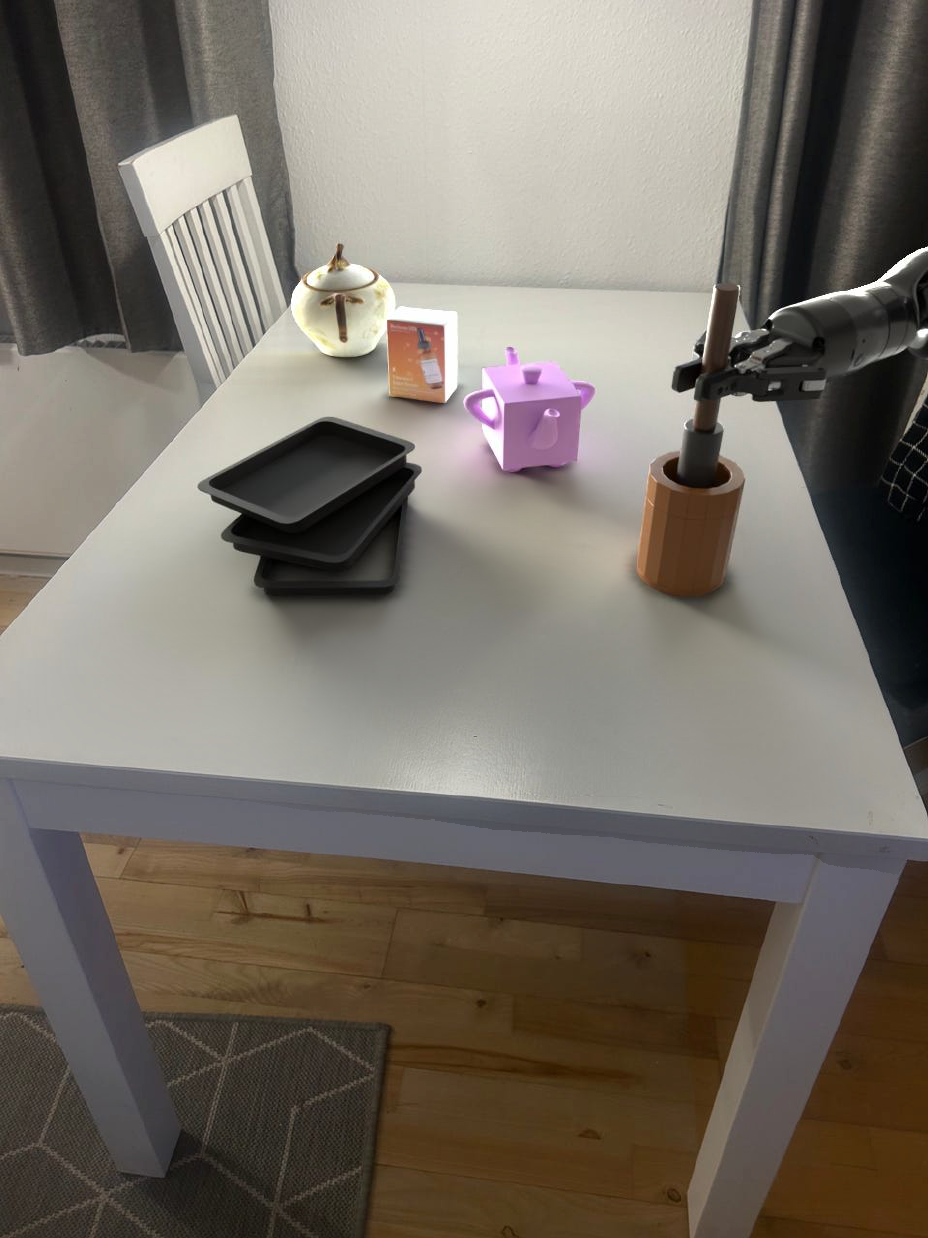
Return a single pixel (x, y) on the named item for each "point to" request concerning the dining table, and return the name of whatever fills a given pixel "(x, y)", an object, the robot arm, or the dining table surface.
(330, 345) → the sugar bowl
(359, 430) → the tray
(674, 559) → the brown cylindrical holder
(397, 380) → the small box
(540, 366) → the teapot
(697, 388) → the robot arm
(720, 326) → the brush
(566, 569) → the dining table surface
